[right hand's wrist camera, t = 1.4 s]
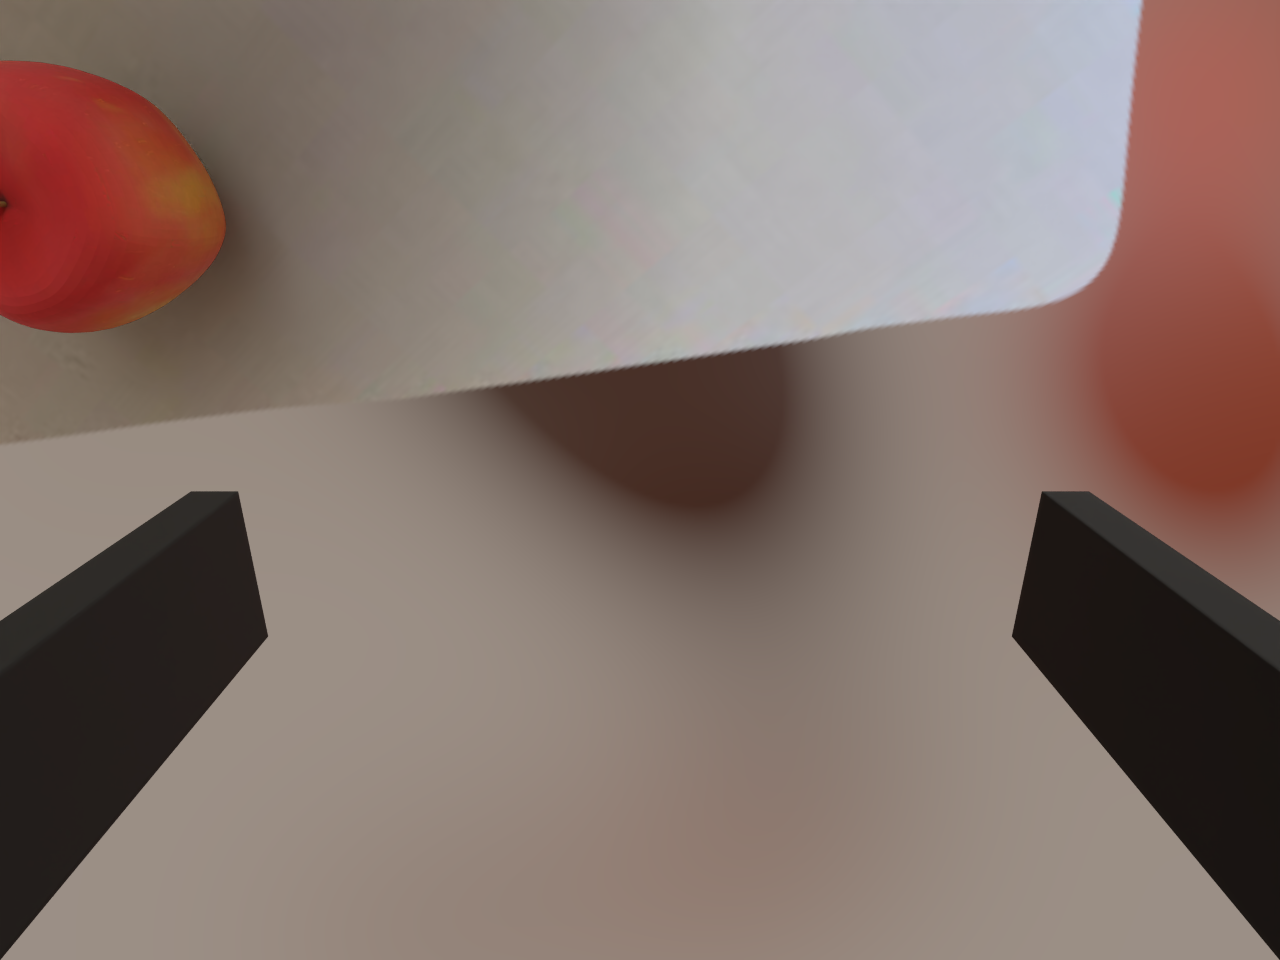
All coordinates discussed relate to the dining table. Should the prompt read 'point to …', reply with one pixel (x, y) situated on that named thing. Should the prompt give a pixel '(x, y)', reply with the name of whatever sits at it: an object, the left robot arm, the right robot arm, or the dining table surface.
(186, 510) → the right robot arm
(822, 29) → the dining table surface
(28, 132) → the apple
